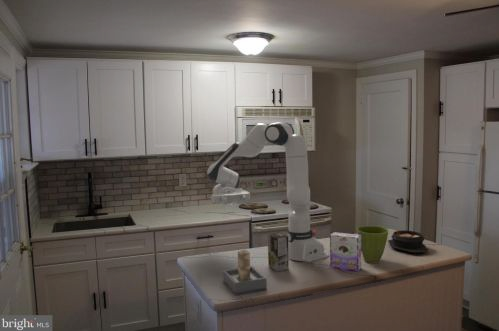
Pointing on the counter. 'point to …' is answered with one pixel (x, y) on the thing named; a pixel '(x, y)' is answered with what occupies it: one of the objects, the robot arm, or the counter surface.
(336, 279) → the counter surface
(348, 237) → the candy box
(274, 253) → the coffee box
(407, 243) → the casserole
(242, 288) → the box
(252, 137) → the robot arm
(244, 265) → the peg
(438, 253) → the counter surface
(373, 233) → the flower pot
